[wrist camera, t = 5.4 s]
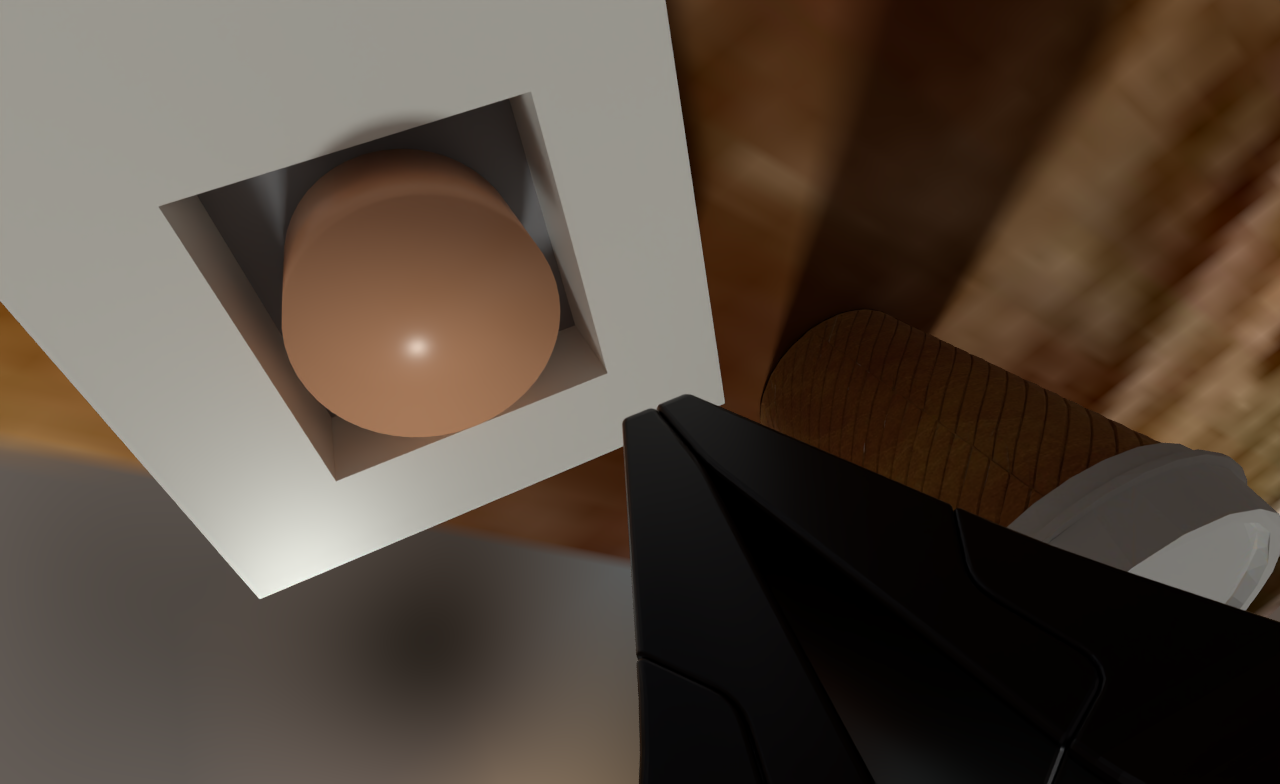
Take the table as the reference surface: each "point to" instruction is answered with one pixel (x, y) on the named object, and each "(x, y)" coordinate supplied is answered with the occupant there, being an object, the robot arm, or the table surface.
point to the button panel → (261, 212)
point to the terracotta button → (414, 295)
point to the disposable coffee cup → (1022, 456)
